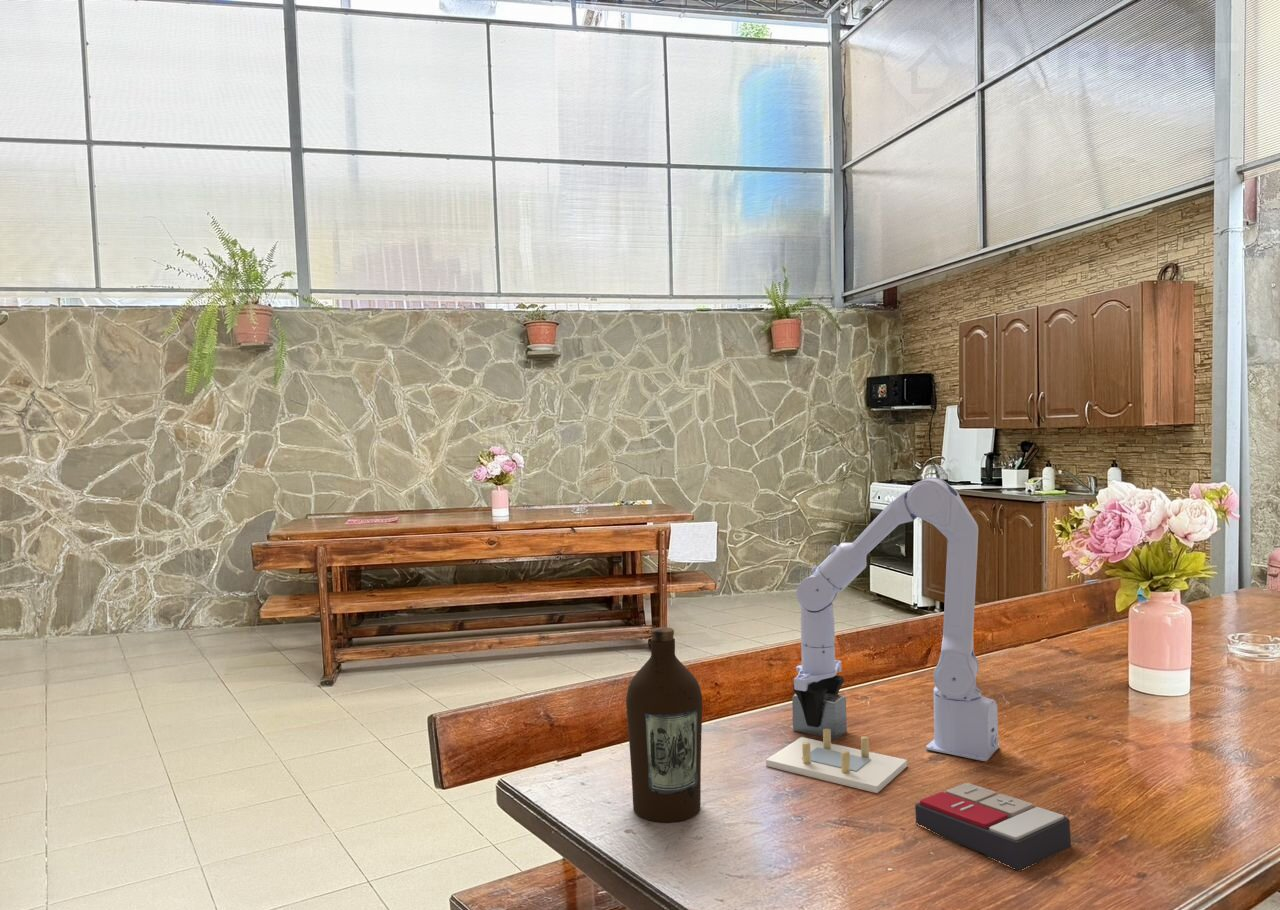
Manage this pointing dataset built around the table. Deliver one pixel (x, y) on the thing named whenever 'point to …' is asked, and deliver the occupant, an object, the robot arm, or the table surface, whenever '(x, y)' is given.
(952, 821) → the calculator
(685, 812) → the olive oil
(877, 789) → the cream pegged board
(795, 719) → the block
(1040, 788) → the table surface
